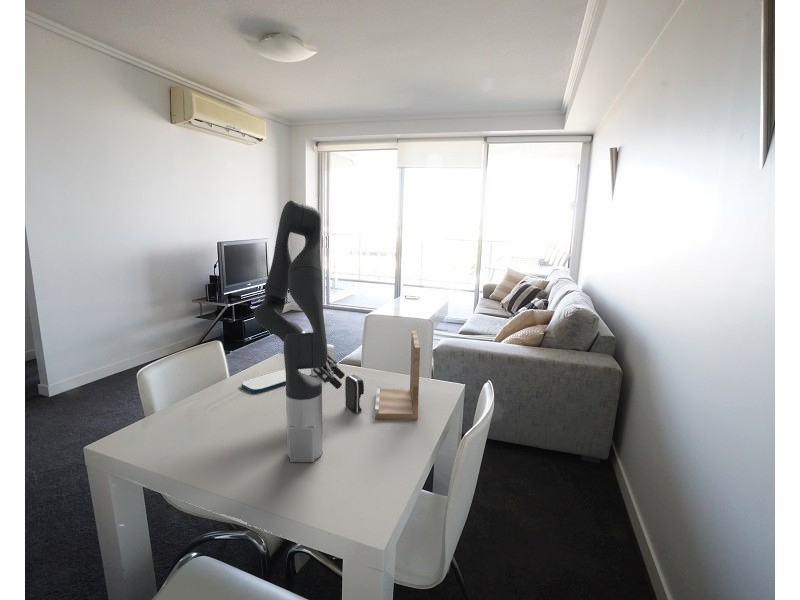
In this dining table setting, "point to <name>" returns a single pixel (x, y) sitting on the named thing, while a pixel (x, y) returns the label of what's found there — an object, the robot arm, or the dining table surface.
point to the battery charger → (353, 392)
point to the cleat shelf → (401, 392)
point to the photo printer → (330, 352)
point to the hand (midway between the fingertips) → (341, 381)
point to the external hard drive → (266, 382)
